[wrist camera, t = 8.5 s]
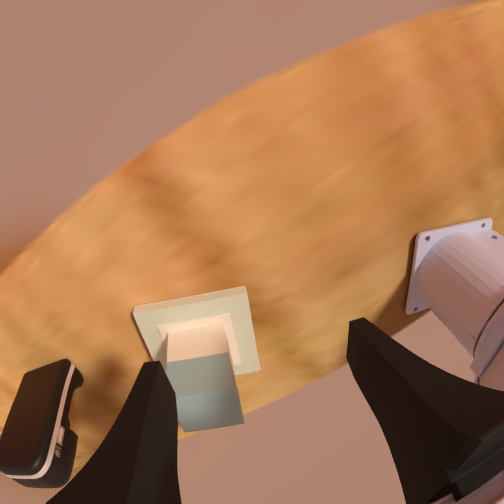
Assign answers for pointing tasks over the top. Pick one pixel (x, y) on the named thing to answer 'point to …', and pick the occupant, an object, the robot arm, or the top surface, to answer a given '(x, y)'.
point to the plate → (201, 323)
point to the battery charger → (41, 428)
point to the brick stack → (203, 378)
